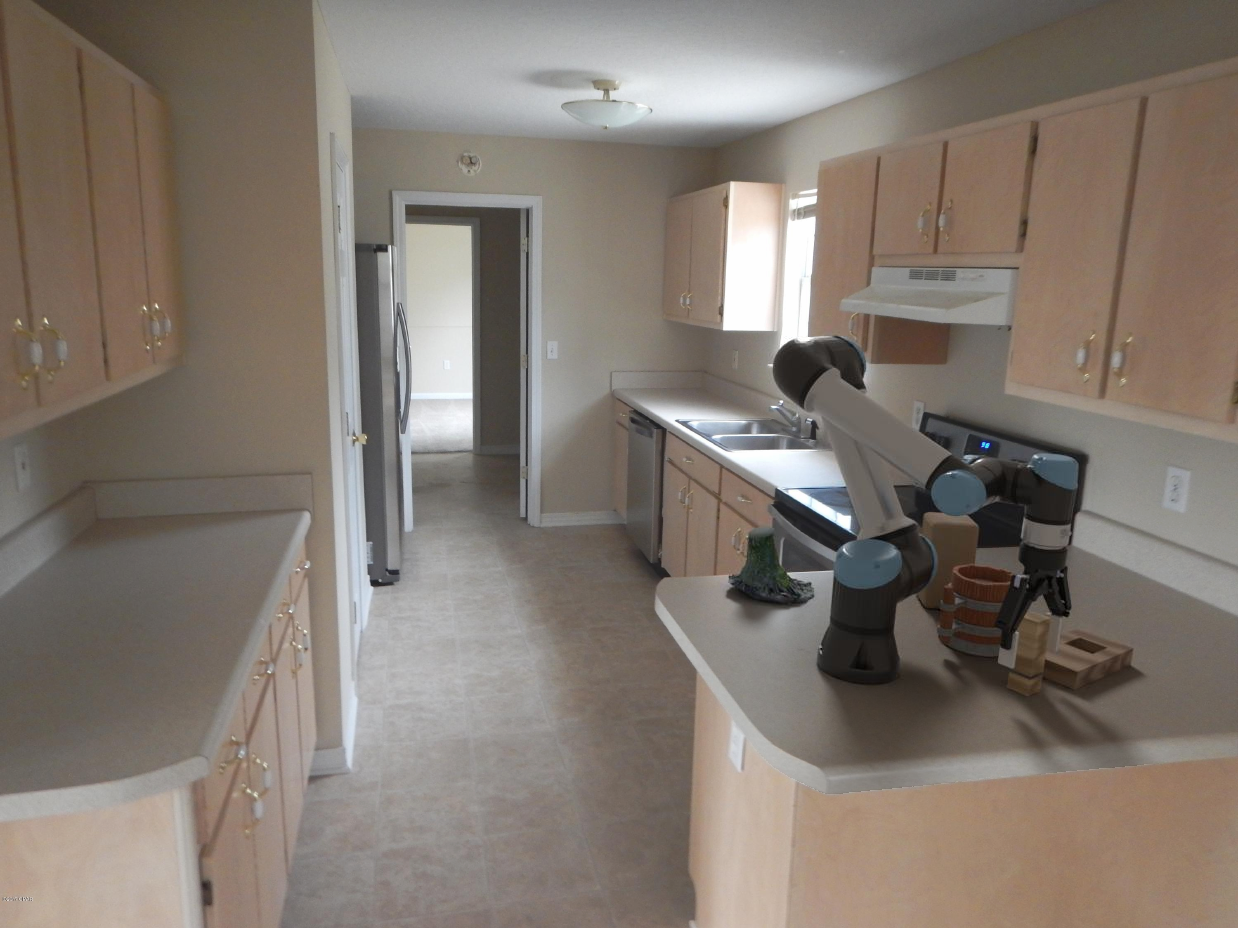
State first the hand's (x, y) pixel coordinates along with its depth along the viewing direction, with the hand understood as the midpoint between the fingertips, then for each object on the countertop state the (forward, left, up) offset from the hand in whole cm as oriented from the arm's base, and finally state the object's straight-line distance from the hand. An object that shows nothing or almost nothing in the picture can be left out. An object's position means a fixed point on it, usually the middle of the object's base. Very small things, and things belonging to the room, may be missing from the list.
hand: (1028, 656), depth 159 cm
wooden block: (+24, +35, -7) cm, 43 cm away
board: (+18, +1, -6) cm, 19 cm away
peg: (0, 0, -6) cm, 6 cm away
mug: (+8, +17, -7) cm, 20 cm away
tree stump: (-5, +60, -7) cm, 60 cm away
